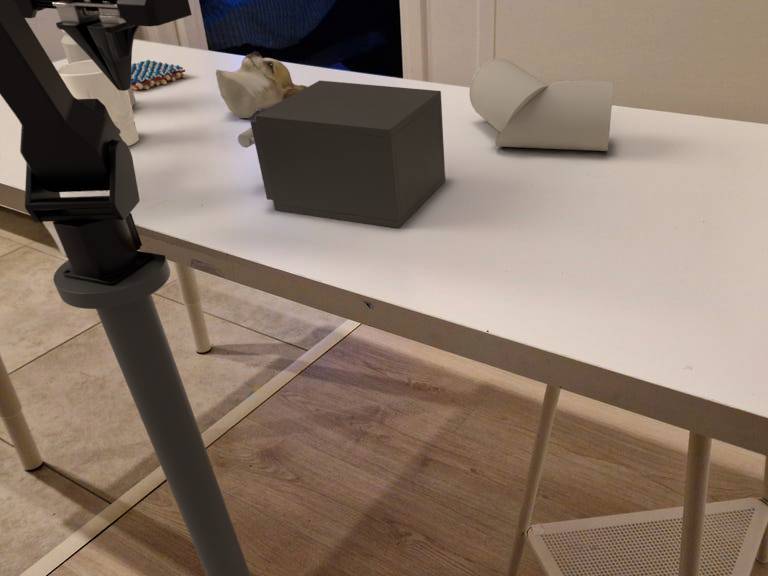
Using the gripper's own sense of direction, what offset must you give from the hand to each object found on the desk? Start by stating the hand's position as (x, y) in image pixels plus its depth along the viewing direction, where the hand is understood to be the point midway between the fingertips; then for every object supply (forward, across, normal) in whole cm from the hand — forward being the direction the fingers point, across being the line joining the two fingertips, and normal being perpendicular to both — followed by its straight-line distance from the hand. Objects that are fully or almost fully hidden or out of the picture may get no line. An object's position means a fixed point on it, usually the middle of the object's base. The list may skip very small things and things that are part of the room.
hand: (124, 89), depth 78 cm
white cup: (+12, +18, -13) cm, 25 cm away
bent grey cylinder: (+12, -38, -32) cm, 51 cm away
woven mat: (+12, +35, -40) cm, 55 cm away
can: (+12, +29, -25) cm, 40 cm away
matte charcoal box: (+12, -24, -7) cm, 28 cm away
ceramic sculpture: (+12, +5, -32) cm, 35 cm away
